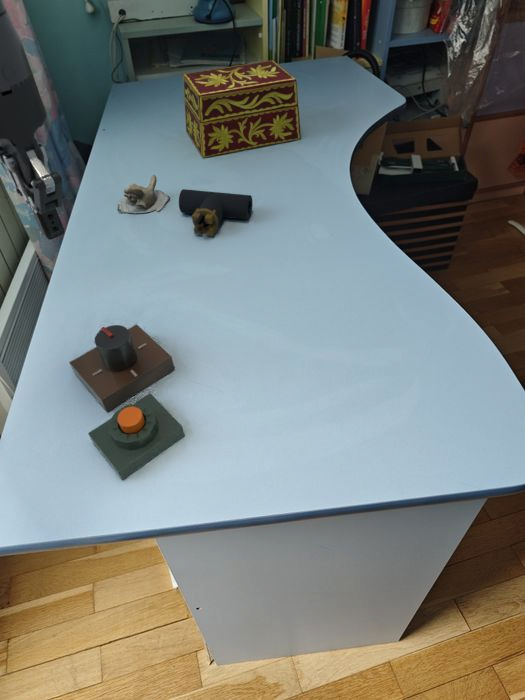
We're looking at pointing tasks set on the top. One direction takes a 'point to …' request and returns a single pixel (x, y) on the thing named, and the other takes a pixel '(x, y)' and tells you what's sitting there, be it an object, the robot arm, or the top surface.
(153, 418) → the button box
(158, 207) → the tan irregular piece
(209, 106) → the decorative box
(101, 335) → the dial knob
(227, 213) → the pipe connector
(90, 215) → the top surface
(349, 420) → the top surface
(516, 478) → the top surface
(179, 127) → the top surface
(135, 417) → the button
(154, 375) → the dial base block
